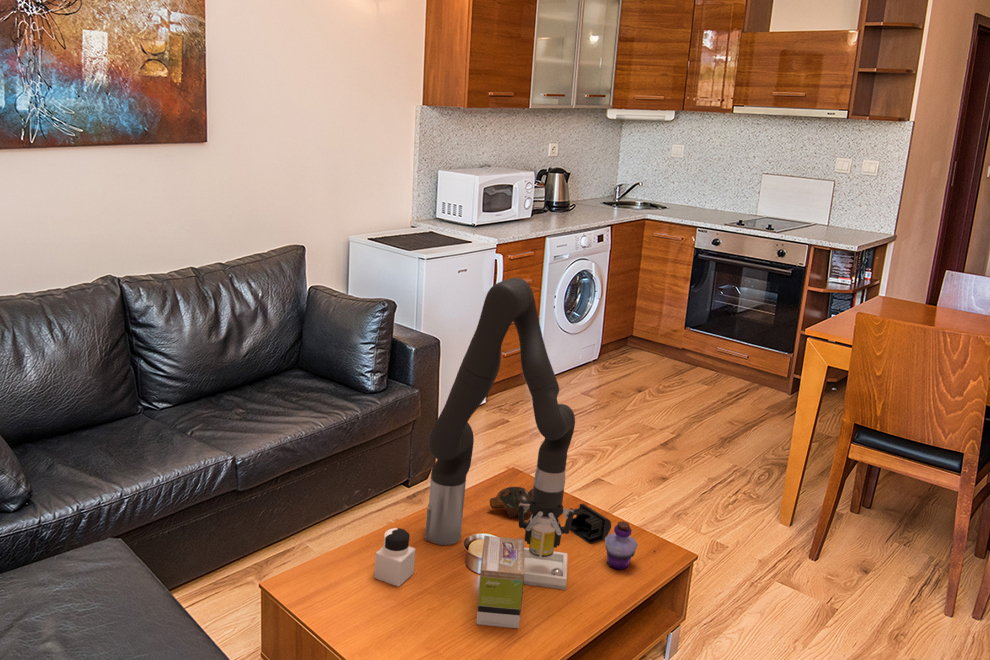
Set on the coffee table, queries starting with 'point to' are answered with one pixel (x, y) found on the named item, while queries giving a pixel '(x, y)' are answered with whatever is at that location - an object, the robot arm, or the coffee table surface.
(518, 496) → the decorative turtle
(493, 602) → the tea box
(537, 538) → the pill bottle
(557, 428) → the robot arm
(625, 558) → the potion bottle
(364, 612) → the coffee table surface
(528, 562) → the tray
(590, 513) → the end cap
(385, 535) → the medicine bottle
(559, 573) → the steel ball
